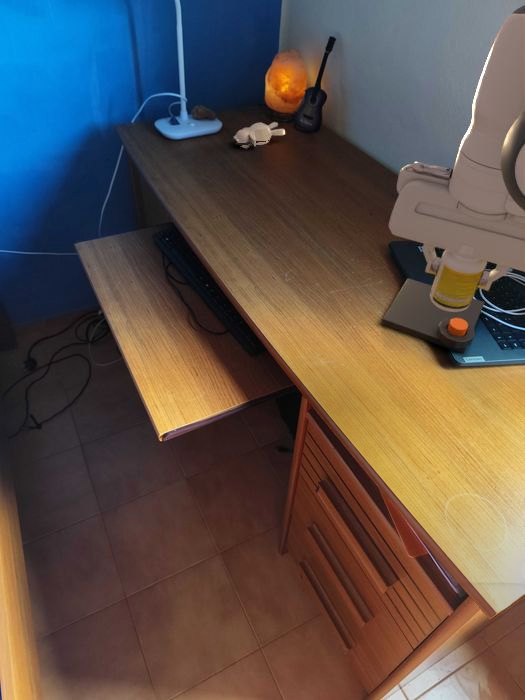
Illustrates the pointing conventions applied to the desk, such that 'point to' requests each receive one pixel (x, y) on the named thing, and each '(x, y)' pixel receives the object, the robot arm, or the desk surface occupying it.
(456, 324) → the button
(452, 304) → the supplement bottle
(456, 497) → the desk surface
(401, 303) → the scale
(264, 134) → the bunny figurine
